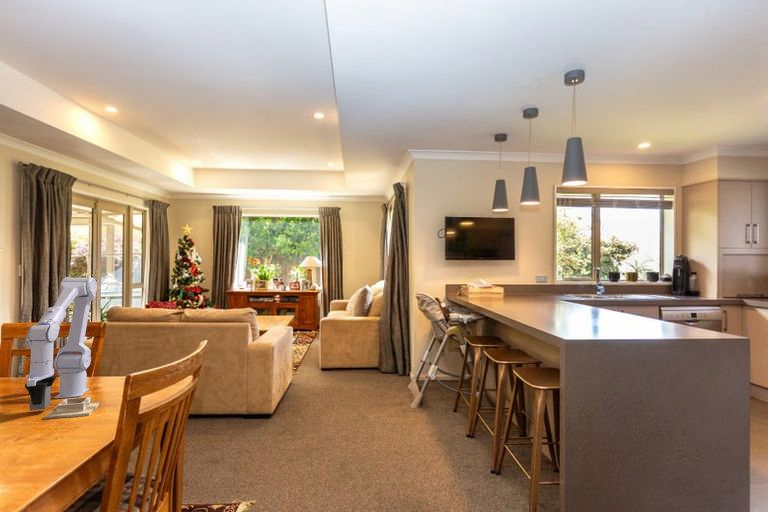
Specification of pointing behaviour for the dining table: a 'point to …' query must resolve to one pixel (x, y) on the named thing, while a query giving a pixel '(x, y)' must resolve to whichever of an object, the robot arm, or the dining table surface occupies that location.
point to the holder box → (73, 408)
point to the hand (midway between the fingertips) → (40, 402)
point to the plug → (45, 400)
